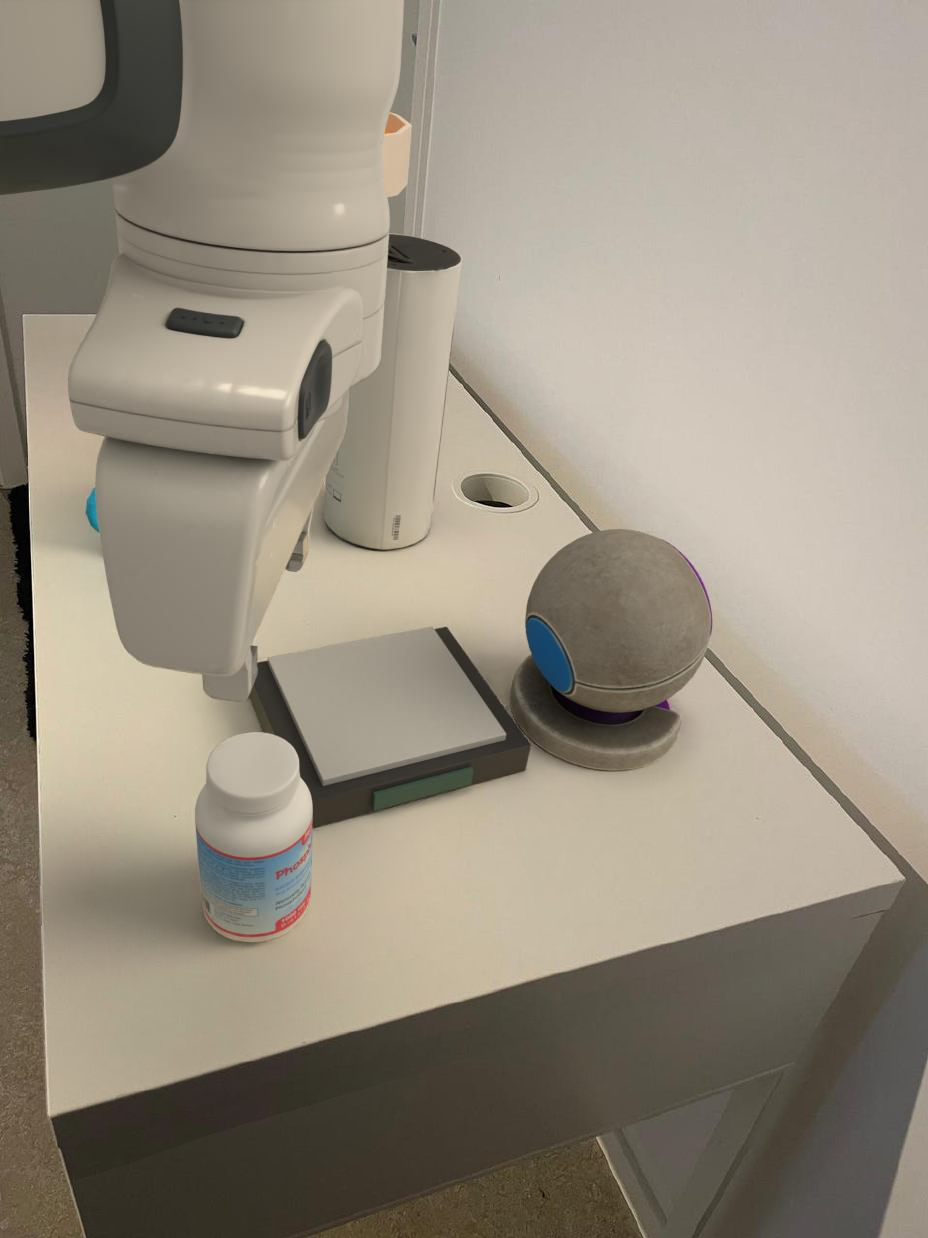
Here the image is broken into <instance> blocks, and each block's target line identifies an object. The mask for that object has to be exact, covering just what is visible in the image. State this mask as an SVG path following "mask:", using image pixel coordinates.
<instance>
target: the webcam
mask: <svg viewBox="0 0 928 1238" xmlns="http://www.w3.org/2000/svg"><path fill="white" fill-rule="evenodd" d="M712 611H713V610H712V606H711V600H710V598H709V594H708V591H707V588H706V585H705V583H704V581H703V579H702V577H701V576H700V574H699V572H698V571H697V569H696V568H695V567H694V564H692V561H690V560H689V559H688V557H687V556H685V554H683V553H682V552H681V551H680V550H679V549H677V547H675V546H674V545H672V544H671V543H670V542H668V541H666V540H664V539H662V538H659V537H657V536H654V535H651V534H648V533H645V532H644V531H640V530H633V529H624V528H615V529H614V528H613V529H611V528H610V529H605V530H598V531H594V532H592V533H588V534H585V535H582V536H580V537H579V538H576V539H575V540H573V541H571V542H570V543H568V544H566V545H564V546H563V547H562V548H561V549H559V550H558V551H556V553H554V555H552V557H551V558H549V560H548V561H547V562H546V563H545V565H544V566H543V567H542V569H541V570H540V571H539V573H538V574H537V577H536V578H535V580H534V582H533V584H532V587H531V590H530V591H529V595H528V598H527V602H526V609H525V618H524V628H525V636H526V641H527V645H528V649H529V651H530V654H529V655H528V656H527V657H526V658H525V659H524V660H523V661H522V662H521V663H520V664H519V666H518V668H517V670H516V671H515V674H514V677H513V680H512V683H511V688H510V693H509V703H510V709H511V712H512V714H513V717H514V719H515V721H516V724H518V727H520V730H521V731H522V732H523V733H524V734H525V735H526V736H527V737H528V738H529V739H530V740H532V741H533V742H534V743H535V744H536V745H537V746H539V747H540V748H542V749H543V750H544V751H546V752H547V753H549V754H551V755H553V756H555V757H557V758H559V759H562V760H564V761H566V762H568V763H570V764H571V763H572V764H574V765H578V766H580V767H585V768H587V769H594V770H602V771H603V770H604V771H624V770H625V771H626V770H634V769H637V768H643V767H645V766H648V765H651V764H654V763H655V762H657V761H659V760H660V759H661V758H663V757H664V756H665V755H667V754H668V753H669V751H670V750H671V749H672V748H673V746H674V744H675V743H676V741H677V738H678V735H679V733H680V728H681V725H682V720H683V719H682V714H681V713H680V712H677V711H675V710H671V708H670V704H669V701H668V700H669V699H671V698H672V697H673V696H674V695H675V694H677V693H679V692H680V691H681V690H682V689H683V688H684V687H686V685H687V684H688V683H689V682H690V681H691V680H692V679H693V678H694V676H695V674H696V673H697V671H698V670H699V668H700V667H701V664H702V663H703V660H704V658H705V656H706V653H707V649H708V646H709V643H710V638H711V636H712V631H713V612H712Z"/></svg>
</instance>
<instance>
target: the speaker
mask: <svg viewBox="0 0 928 1238" xmlns="http://www.w3.org/2000/svg"><path fill="white" fill-rule="evenodd" d="M462 263H463V256H462V255H461V254H460V253H459V252H458V251H456V250H455V249H454V248H451V247H450V246H447V245H445V244H444V243H440V242H437V241H434V240H430V239H428V238H422V237H418V236H413V235H407V234H401V233H390V232H389V242H388V261H387V276H386V290H385V302H384V317H383V332H382V347H381V360H380V363H379V365H378V367H377V369H376V370H375V371H374V372H373V373H372V374H371V375H370V376H369V377H367V378H366V379H364V380H363V381H361V382H359V383H357V384H355V385H352V386H350V388H349V405H348V418H347V425H346V430H345V434H344V438H343V440H342V442H341V444H340V447H339V449H338V451H337V453H336V456H335V458H334V460H333V462H332V465H331V467H330V469H329V471H328V474H327V476H326V478H325V492H324V522H325V523H326V524H327V527H328V528H329V530H330V532H332V533H333V534H334V535H335V536H336V537H338V538H339V539H341V541H344V542H346V543H348V544H350V545H354V546H356V547H360V548H365V549H370V550H379V551H380V550H381V551H388V550H389V551H390V550H398V549H404V548H408V547H410V546H414V545H416V544H418V543H420V542H422V540H423V539H425V537H426V536H427V535H428V533H429V532H430V530H431V526H432V517H433V508H434V501H435V492H436V486H437V485H436V484H437V475H438V466H439V458H440V450H441V442H442V441H441V440H442V432H443V425H444V418H445V417H444V415H445V410H446V409H445V407H446V401H447V400H446V399H447V398H446V397H447V390H448V381H449V373H450V366H451V365H450V364H451V358H452V357H451V356H452V347H453V339H454V338H453V337H454V331H455V330H454V329H455V322H456V313H457V306H458V305H457V304H458V296H459V287H460V279H461V271H462Z"/></svg>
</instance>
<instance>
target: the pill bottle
mask: <svg viewBox="0 0 928 1238" xmlns="http://www.w3.org/2000/svg"><path fill="white" fill-rule="evenodd" d="M205 770H206V771H205V773H206V775H205V776H206V777H205V784H204V785H203V786H202V788H201V789H200V791H199V794H198V795H197V799H196V802H195V807H194V825H195V836H196V851H197V863H198V874H199V886H200V888H199V889H200V898H201V907H202V912H203V915H204V917H205V919H206V921H207V923H208V924H209V925H210V927H211V928H212V929H213V930H214V931H215V932H217V933H218V934H220V936H222V937H225V938H227V939H229V940H233V941H235V942H243V943H261V942H262V943H263V942H267V941H271V940H275V939H278V938H280V937H282V936H284V935H286V934H288V933H289V932H290V931H292V930H293V929H294V928H295V927H297V925H298V924H299V923H300V922H301V921H302V920H303V918H304V916H305V915H306V913H307V911H308V909H309V906H310V901H311V894H312V867H313V865H312V864H313V863H312V862H313V828H312V822H313V806H312V798H311V794H310V791H309V789H308V787H307V785H306V784H305V782H304V781H303V780H302V779H301V777H300V772H299V758H298V755H297V753H296V751H295V749H294V748H293V747H292V745H291V744H290V743H288V742H287V741H286V740H284V739H282V738H280V737H278V736H276V735H273V734H269V733H264V732H263V731H251V732H250V731H249V732H243V733H239V734H234V735H233V736H230V737H228V738H226V739H224V740H223V741H220V743H218V744H217V745H216V746H215V747H213V749H212V751H211V752H210V754H209V755H208V757H207V761H206V766H205Z"/></svg>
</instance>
